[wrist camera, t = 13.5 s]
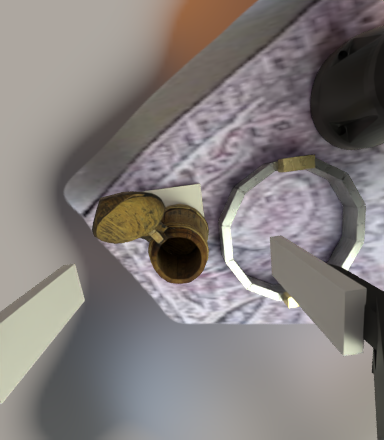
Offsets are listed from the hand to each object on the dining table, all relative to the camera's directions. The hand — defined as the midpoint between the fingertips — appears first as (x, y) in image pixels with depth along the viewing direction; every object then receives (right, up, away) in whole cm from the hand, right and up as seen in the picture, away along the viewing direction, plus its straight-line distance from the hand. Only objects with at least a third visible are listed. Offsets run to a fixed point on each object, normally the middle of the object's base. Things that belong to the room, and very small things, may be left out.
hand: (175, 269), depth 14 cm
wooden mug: (-2, +3, +19) cm, 19 cm away
